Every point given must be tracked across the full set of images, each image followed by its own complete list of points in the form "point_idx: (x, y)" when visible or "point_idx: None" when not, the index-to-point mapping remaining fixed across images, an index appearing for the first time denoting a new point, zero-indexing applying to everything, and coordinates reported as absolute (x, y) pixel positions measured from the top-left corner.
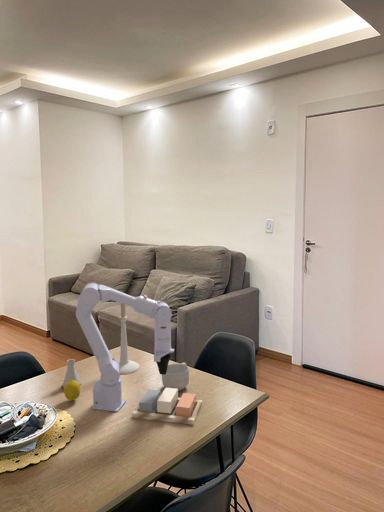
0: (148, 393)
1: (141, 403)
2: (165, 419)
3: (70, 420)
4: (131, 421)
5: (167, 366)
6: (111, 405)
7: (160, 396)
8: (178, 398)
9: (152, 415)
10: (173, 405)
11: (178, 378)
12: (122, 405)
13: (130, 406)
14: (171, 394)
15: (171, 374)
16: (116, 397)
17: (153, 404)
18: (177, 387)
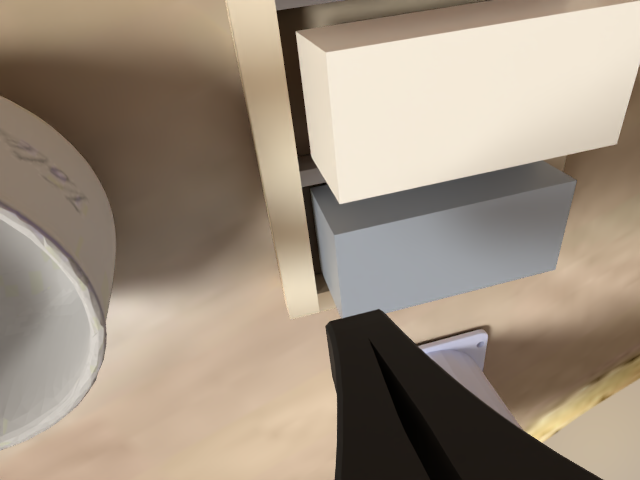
0: (414, 286)
1: (553, 249)
2: None
3: (558, 413)
4: (568, 219)
5: (370, 401)
6: (485, 376)
7: (537, 157)
8: (256, 41)
9: None
10: (479, 6)
11: (32, 182)
12: (421, 345)
13: (412, 310)
14: (488, 65)
15: (86, 291)
16: (493, 399)
17: (513, 177)
18: (71, 146)
